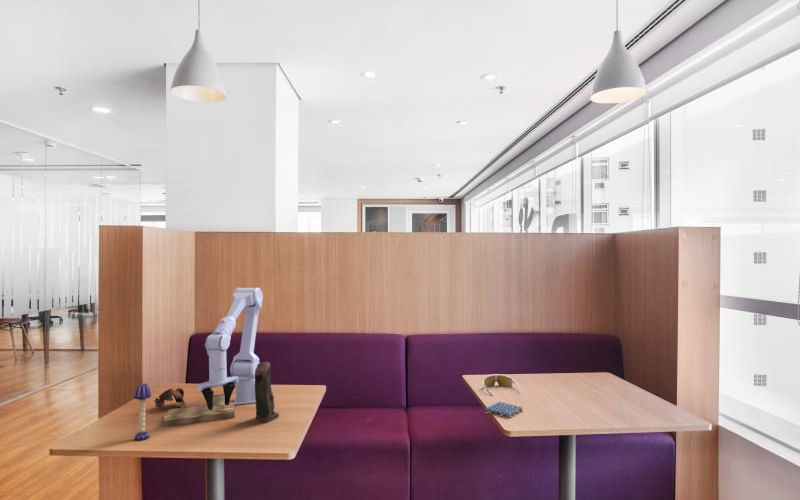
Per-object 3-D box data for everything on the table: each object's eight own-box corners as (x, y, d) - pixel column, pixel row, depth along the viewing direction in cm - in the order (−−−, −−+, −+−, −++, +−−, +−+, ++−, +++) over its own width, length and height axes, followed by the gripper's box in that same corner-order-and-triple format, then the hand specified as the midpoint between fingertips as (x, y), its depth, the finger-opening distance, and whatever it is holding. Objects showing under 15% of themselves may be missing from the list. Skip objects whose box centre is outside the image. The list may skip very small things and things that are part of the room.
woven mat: (482, 413, 162) (482, 408, 162) (498, 406, 169) (498, 400, 169) (509, 420, 154) (508, 414, 154) (524, 412, 162) (524, 406, 162)
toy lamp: (139, 435, 146) (138, 382, 147) (154, 434, 147) (153, 382, 147) (131, 441, 142) (130, 387, 142) (147, 440, 142) (146, 386, 142)
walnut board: (234, 407, 172) (234, 397, 172) (234, 417, 161) (234, 407, 161) (169, 415, 165) (169, 405, 165) (164, 426, 153) (164, 416, 153)
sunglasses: (512, 384, 195) (512, 373, 195) (523, 401, 180) (524, 388, 180) (479, 385, 194) (479, 374, 194) (488, 402, 180) (488, 390, 179)
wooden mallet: (225, 402, 170) (225, 389, 170) (224, 411, 161) (224, 396, 161) (213, 404, 169) (213, 390, 169) (212, 412, 160) (211, 398, 160)
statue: (279, 416, 161) (278, 359, 161) (267, 424, 154) (266, 364, 154) (263, 414, 163) (262, 358, 163) (250, 422, 156) (249, 363, 156)
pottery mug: (180, 413, 168) (166, 395, 166) (159, 423, 169) (146, 406, 168) (195, 395, 179) (183, 378, 178) (176, 405, 181) (164, 388, 179)
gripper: (231, 362, 170) (232, 399, 170) (192, 370, 160) (192, 409, 159) (241, 365, 166) (241, 403, 165) (201, 373, 155) (202, 414, 155)
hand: (218, 406), depth 162 cm, fingers closed on wooden mallet, 5 cm apart
